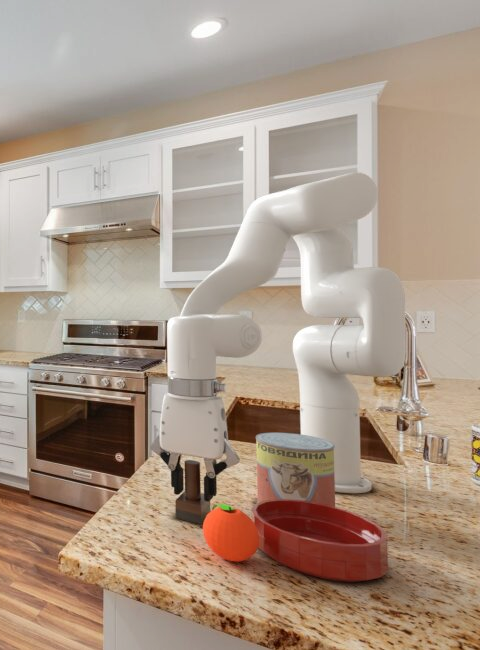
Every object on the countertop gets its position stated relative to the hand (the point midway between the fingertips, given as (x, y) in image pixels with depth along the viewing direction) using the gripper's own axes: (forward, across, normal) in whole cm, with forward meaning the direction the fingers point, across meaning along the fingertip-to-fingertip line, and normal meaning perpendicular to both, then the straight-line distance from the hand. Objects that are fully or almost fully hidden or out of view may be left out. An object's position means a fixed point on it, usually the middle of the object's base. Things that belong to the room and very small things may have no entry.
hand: (193, 494), depth 81 cm
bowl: (+4, -17, +4) cm, 18 cm away
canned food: (+4, -13, -13) cm, 19 cm away
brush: (+4, 0, 0) cm, 4 cm away
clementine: (+4, -8, +12) cm, 15 cm away
